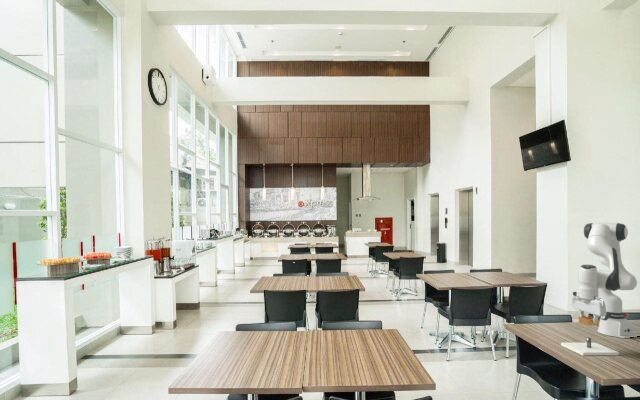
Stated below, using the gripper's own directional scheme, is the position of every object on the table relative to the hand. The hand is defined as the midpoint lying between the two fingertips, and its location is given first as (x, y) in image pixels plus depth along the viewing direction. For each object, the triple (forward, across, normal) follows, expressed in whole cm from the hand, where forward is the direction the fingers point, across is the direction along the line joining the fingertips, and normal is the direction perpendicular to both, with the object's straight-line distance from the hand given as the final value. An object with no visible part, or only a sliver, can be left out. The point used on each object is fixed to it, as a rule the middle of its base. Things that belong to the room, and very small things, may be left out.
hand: (588, 320), depth 208 cm
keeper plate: (+16, 0, 0) cm, 16 cm away
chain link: (+2, 0, 0) cm, 2 cm away
